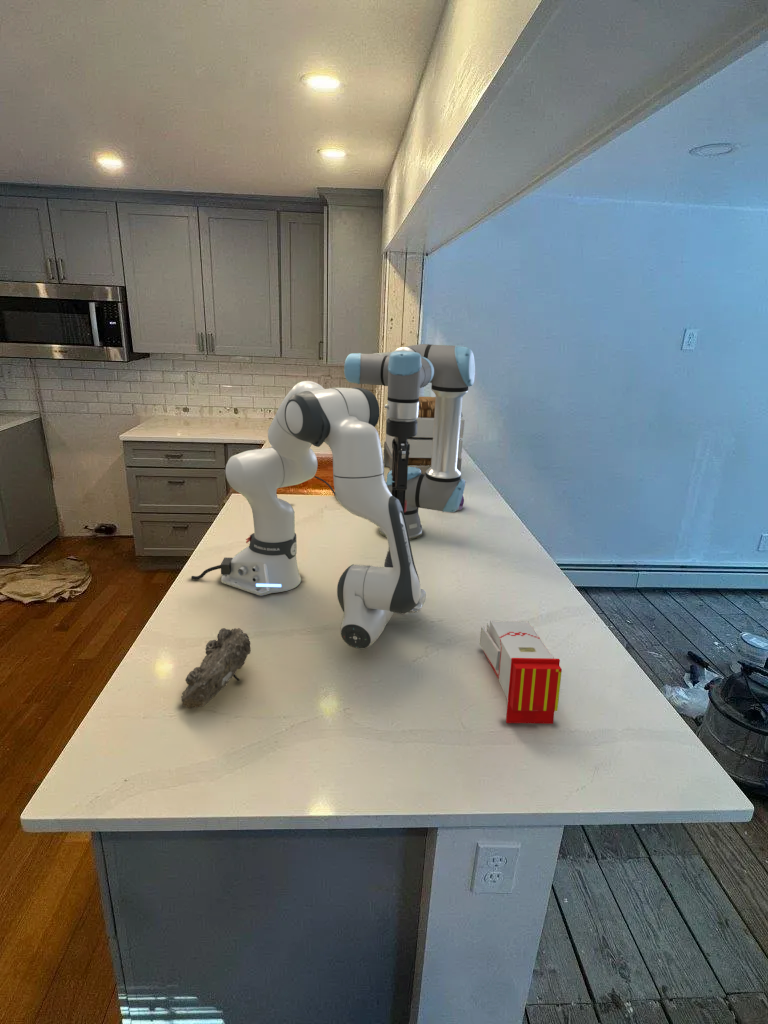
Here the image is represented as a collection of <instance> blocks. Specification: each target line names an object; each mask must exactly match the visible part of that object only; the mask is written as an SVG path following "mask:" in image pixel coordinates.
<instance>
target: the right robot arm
mask: <svg viewBox="0 0 768 1024" xmlns="http://www.w3.org/2000/svg"><path fill="white" fill-rule="evenodd" d="M343 372H344V373H343V374H344V378H345V379H346V381H347V382H348V383H350V384H357V385H370V386H381V387H383V386H384V387H387V400H386V401H387V402H386V403H387V404H384V409H386V412H387V417H389V418H388V419H387V420H386V419H385V435H386V434H387V435H389V436H392V437H395V439H393V441H392V448H393V450H392V456H393V458H392V470H391V471H390V470H389V472H388V473H387V475H386V484H387V487H388V489H389V491H390V493H391V494H392V496H394V497H395V498H397V499H398V500H399V501H400V504H401V506H402V509H403V513H404V508H405V500H407V511H406V512H405V513H404V517H405V521H406V525H407V530H408V535H409V540H415V539H418V538H420V537H421V536H422V535H423V525H422V524H421V518H420V515H419V509H424V510H432V511H437V512H441V513H444V512H446V513H456V512H457V511H456V510H457V509H458V507H459V505H460V503H461V500H462V496H463V497H464V493H465V492H464V491H465V489H466V480H465V479H464V478H462V473H461V472H462V471H461V472H460V471H459V470H458V469H457V459H458V447H459V435H460V423H461V418H462V417H461V412H463V411H462V409H463V399H464V396H465V395H466V394H467V393H468V392H469V388H471V387H473V386H474V383H475V377H476V362H475V355H474V352H473V350H472V349H471V348H470V347H468V346H461V345H451V344H450V345H449V344H430V343H419V344H413V345H407V346H400V347H398V348H396V349H394V350H393V351H385V352H375V353H361V352H357V353H355V352H353V353H349V354H348V355H347V357H345V360H344V367H343ZM429 383H430V384H431V387H430V389H431V391H432V392H433V393H434V395H435V397H436V398H435V413H434V429H433V444H432V459H431V465H430V466H429V468H427V469H426V471H425V473H422V470H421V468H419V467H417V466H408V459H409V454H410V453H409V450H410V444H408V441H407V438H409V437H414V436H416V435H417V424H418V422H417V420H416V419H417V418H418V412H419V397H420V389H422V388H424V387H426V386H428V385H429ZM387 408H388V409H387ZM313 478H315V479H317V480H319V481H321V482H322V483H325V484H326V485H327V486H328V487H329V489H330V490H331V492H332V493H333V495H334V497H336V495H335V490H334V488H333V487H332V486H331V485H330V484H329V482H327V481H326V480H324V479H323V478H321V477H319V476H317V475H315V476H314V477H313ZM378 533H379V534H380V535H381V536H382V537H385V538H387V537H386V534H385V533H384V532H383V530H382V529H381V528H380V527H378Z"/></svg>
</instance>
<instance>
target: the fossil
mask: <svg viewBox="0 0 768 1024" xmlns="http://www.w3.org/2000/svg"><path fill="white" fill-rule="evenodd" d="M216 638H217V639H211V640H208V642H207V643H206V645H205V656H204V658H203V659H202V662H201V663H200V666H196V667H194V668H193V669H192V670H191V671H189V673H188V674H187V675H186V678H185V680H184V681H185V682H186V684H187V687H186V688H185V689H184V690H183V691H182V693H181V697H180V698H181V704H182V706H183V707H187V708H188V709H194V708H199V707H205V705H207V704H208V703H209V702H210V701H211V700H212V699H213V698H215V697H216V696H217V694H219V693H220V692H221V691H222V690H223V689H224V688H225V687H227V684H229V681H230V680H231V679H233V678H234V679H235V680H236V681H237V682H240V680H241V679H240V678H239V677H238V676H237V675H236V673H237V671H238V670H240V669H242V667H243V666H244V665H245V661H246V660H247V657H248V655H250V654H251V653H252V652H251V651H252V648H251V645H252V643H251V641H250V637H249V634H247V633H246V632H244V631H243V630H242V629H241V628H239V627H238V628H236V627H235V628H231V629H228V628H225V627H224V628H220V630H219V631H218V633H217V636H216Z"/></svg>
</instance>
